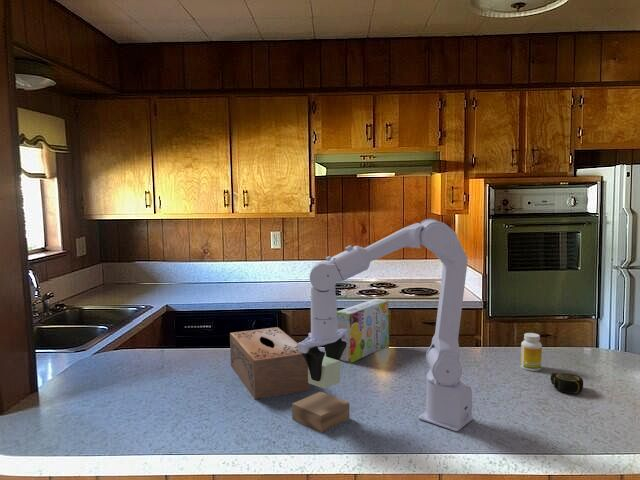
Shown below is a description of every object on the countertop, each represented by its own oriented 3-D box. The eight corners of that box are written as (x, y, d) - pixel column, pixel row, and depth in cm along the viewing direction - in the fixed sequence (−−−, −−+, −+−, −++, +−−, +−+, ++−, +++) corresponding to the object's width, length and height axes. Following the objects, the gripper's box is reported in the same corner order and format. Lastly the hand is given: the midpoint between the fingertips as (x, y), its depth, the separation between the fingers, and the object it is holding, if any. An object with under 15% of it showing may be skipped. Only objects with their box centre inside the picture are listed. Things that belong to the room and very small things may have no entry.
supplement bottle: (516, 365, 145) (517, 332, 144) (533, 363, 146) (534, 331, 145) (528, 372, 140) (529, 338, 139) (545, 370, 141) (546, 336, 140)
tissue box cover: (309, 390, 130) (309, 352, 129) (254, 400, 124) (253, 360, 123) (278, 359, 153) (277, 327, 152) (230, 366, 148) (229, 332, 147)
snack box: (375, 342, 168) (375, 297, 166) (389, 345, 164) (390, 300, 163) (335, 360, 152) (335, 310, 150) (351, 364, 148) (351, 313, 146)
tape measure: (578, 386, 130) (579, 372, 130) (586, 397, 123) (586, 382, 123) (549, 384, 132) (550, 370, 131) (555, 395, 125) (556, 380, 125)
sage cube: (339, 382, 114) (339, 360, 113) (325, 388, 110) (325, 366, 109) (322, 376, 117) (322, 355, 116) (308, 383, 113) (307, 361, 113)
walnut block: (349, 419, 114) (349, 402, 113) (321, 434, 107) (321, 416, 107) (320, 407, 120) (320, 391, 119) (292, 420, 113) (292, 403, 113)
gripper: (331, 307, 120) (331, 363, 121) (287, 320, 109) (288, 381, 111) (355, 312, 115) (355, 370, 117) (311, 325, 104) (312, 389, 106)
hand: (324, 376), depth 113 cm, fingers closed on sage cube, 5 cm apart
